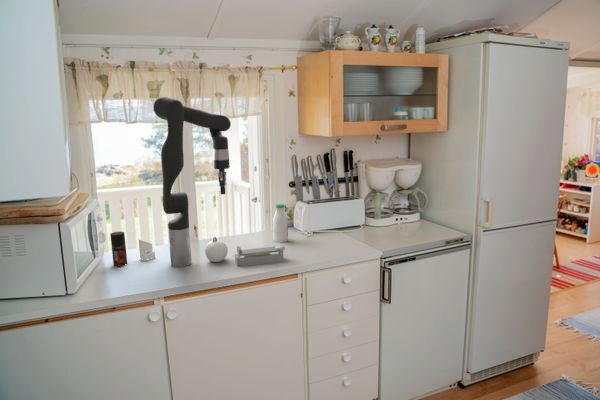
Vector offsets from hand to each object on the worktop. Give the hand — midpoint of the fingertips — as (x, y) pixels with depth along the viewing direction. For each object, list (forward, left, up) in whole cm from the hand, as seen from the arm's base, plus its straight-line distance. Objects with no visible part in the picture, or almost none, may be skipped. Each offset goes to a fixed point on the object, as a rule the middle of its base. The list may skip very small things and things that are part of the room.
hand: (223, 194), depth 220 cm
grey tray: (+13, -17, -29) cm, 36 cm away
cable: (+12, -22, -29) cm, 38 cm away
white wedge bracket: (-37, +1, -29) cm, 47 cm away
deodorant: (-49, -4, -29) cm, 57 cm away
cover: (+14, -21, -24) cm, 35 cm away
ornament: (-6, -14, -29) cm, 33 cm away
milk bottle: (+30, +8, -29) cm, 43 cm away
